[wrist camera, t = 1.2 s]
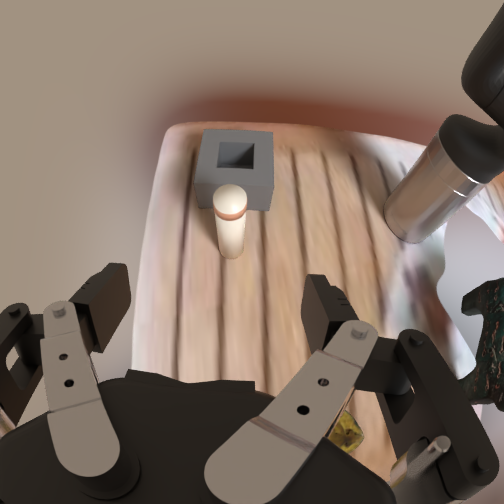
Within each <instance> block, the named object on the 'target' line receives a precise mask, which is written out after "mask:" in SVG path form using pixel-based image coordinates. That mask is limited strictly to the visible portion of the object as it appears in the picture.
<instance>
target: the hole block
mask: <svg viewBox="0 0 504 504" xmlns="http://www.w3.org/2000/svg"><path fill="white" fill-rule="evenodd" d="M227 184H234V185H237V186H239V187H241V188H242V189H243V190H244V191H245V193H246V195H247V209H246V210H259V211H269V209H270V204H271V199H272V194H273V189H274V156H273V132H265V131H248V130H222V129H204V132H203V136H202V141H201V146H200V151H199V157H198V162H197V167H196V173H195V178H194V187H195V192H196V197H197V202H198V207H199V208H214V207H213V195H214V193H215V191H216V190H217V189H218V188H219V187H221V186H223V185H227Z"/></svg>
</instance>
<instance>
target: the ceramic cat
mask: <svg viewBox="0 0 504 504" xmlns="http://www.w3.org/2000/svg"><path fill="white" fill-rule="evenodd" d="M461 311H462V313H463V314H465V315H467V316H471V315H477V314H482V315H483V318H484V321H483V329H482V334H481V337H480V341H479V346H478V349H477V354H476V358H475V359H476V367H475V368H474V370H473V371H472V372H470V373H469V374H468V375H467V376H465V377H464V378H462V379H459V380H457V381H458V383H459V385H460V386H461V388H462V390H463V391H464V393H465V395H466V397H467V398H468V400H469V402H470V404H471V405H477V404H491V403H495V405H496V407H497V408H498V410H500V411H503V412H504V278H500V279H497V280H492V281H487V282H485V283H483V284H482V285H480V286H479V287H477V288H475V289H473V290H472V291H471V292H469V293H467V294H466V295H465V296H463V300H462V308H461Z"/></svg>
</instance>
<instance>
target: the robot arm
mask: <svg viewBox="0 0 504 504" xmlns="http://www.w3.org/2000/svg"><path fill="white" fill-rule="evenodd" d="M461 80H462V87H463V89H464V91H465V92H466V94H467V95H468V96H469V97H470V98H471V99H472V100H473V101H474V102H475V103H476V104H477V105H478V106H479V107H480V108H481V109H483V111H485V112H486V113H487V114H488V115H489V116H490V117H491V118H492V119H493V120H494V121H496V123H497V124H498V125H496V126H493V125H487V124H483V123H480V122H478V121H475V120H473V119H471V118H468V117H466V116H463V115H458V114H454V115H451V116H449V117H448V118H447V119H446V120H445V121H444V123H443V124H442V126H441V127H440V129H439V130H438V131H437V133H436V135H435V136H434V137H433V139H432V140H431V142H430V143H429V144H428V146H427V147H426V149H425V150H424V151H423V153H422V154H421V156H420V157H419V158H418V160H417V161H416V162H415V164H414V165H413V166H412V168H411V169H410V170H409V172H408V173H407V174H406V176H405V177H404V178H403V180H402V181H401V182H400V184H399V185H398V186H397V187H396V189H395V190H394V191H393V192H392V194H391V195H390V196H389V198H388V199H387V200H386V202H385V204H384V216H385V219H386V222H387V224H388V226H389V227H390V229H391V230H392V231H393V233H394V234H395V235H396V236H398V237H399V238H400V239H402V240H403V241H405V242H408V243H413V244H415V243H420V242H422V241H423V240H425V239H426V238H427V237H428V236H429V235H431V234H432V233H433V232H434V231H436V230H437V229H438V228H439V227H440V226H442V225H443V224H444V223H445V222H446V221H448V220H449V219H450V218H451V217H452V216H453V215H454V214H455V213H457V212H458V211H459V210H460V209H461V208H462V207H464V206H465V205H466V204H467V203H468V202H469V201H470V200H471V199H472V198H473V197H474V196H476V194H478V193H479V192H480V191H481V190H482V189H483V188H484V187H485V186H486V185H487V184H488V183H489V182H490V181H491V180H492V179H493V178H494V177H495V176H497V175H499V174H500V173H502V172H503V171H504V3H503V5H502V7H501V8H500V10H499V12H498V13H497V15H496V16H495V18H494V19H493V21H492V22H491V24H490V25H489V27H488V28H487V30H486V31H485V32H484V34H483V35H482V37H481V38H480V40H479V41H478V43H477V44H476V46H475V47H474V49H473V50H472V52H471V53H470V55H469V57H468V59H467V61H466V63H465V66H464V68H463V72H462V77H461ZM130 303H131V291H130V285H129V278H128V270H127V266H126V265H125V264H121V263H109V264H108V265H107V266H106V267H105V268H104V269H103V270H102V271H101V272H99V273H97V274H95V275H93V276H92V277H90V278H89V279H88V280H87V281H86V282H85V284H83V285H82V287H81V289H79V290H78V291H77V292H76V293H75V294H74V295H73V296H72V297H71V298H70V300H69V301H58V302H55V303H52V304H51V305H49V306H48V307H46V309H45V310H44V313H43V314H34V315H33V314H32V315H31V314H30V311H29V308H28V306H27V305H26V304H24V303H16V304H13V305H10V306H8V307H7V308H6V309H5V310H3V312H2V313H1V314H0V504H461V503H463V502H464V501H466V500H467V499H469V498H470V497H472V496H473V495H475V494H476V493H478V492H479V491H480V490H482V489H483V488H485V487H486V486H487V485H489V484H490V483H491V482H492V481H493V480H494V479H495V478H496V476H497V474H498V471H499V460H498V457H497V454H496V452H495V450H494V448H493V446H492V444H491V442H490V440H489V438H488V436H487V434H486V432H485V430H484V428H483V426H482V424H481V422H480V420H479V418H478V416H477V414H476V413H475V411H474V409H473V407H472V405H471V404H470V402H469V400H468V398H467V397H466V395H465V393H464V391H463V390H462V388H461V386H460V385H459V383H458V381H457V380H456V378H455V377H454V375H453V373H452V372H451V370H450V369H449V367H448V365H447V364H446V362H445V361H444V359H443V358H442V356H441V355H440V353H439V351H438V350H437V348H436V347H435V345H434V344H433V342H432V341H431V340H430V338H429V337H428V336H427V335H425V334H424V333H422V332H420V331H418V330H413V329H406V330H403V331H402V332H400V334H399V336H398V339H397V340H395V339H389V338H383V337H379V336H378V332H377V330H376V329H375V328H374V327H373V326H372V325H370V324H369V323H366V322H364V321H360V320H359V318H358V317H357V315H356V313H355V311H354V310H353V308H352V306H351V305H350V303H349V301H348V300H347V297H346V296H345V294H344V292H343V291H341V290H340V289H339V288H337V287H336V286H330V284H329V282H328V280H327V278H326V276H325V275H318V274H308V275H307V276H306V280H305V286H304V292H303V298H302V304H301V319H302V322H303V326H304V329H305V333H306V336H307V340H308V343H309V347H310V350H311V354H312V356H311V357H310V358H309V360H308V361H307V362H306V363H305V364H304V366H303V367H302V368H301V369H300V370H299V372H298V373H297V374H296V375H295V376H294V377H293V379H292V380H291V381H290V382H289V383H288V384H287V386H286V387H285V388H284V389H283V390H282V391H281V392H280V393H279V395H278V396H277V397H274V396H272V395H269V394H266V393H263V392H260V391H256V390H255V381H235V380H217V381H208V382H199V383H184V382H181V381H178V380H175V379H172V378H169V377H166V376H163V375H160V374H157V373H150V372H144V371H137V370H131V369H128V371H127V373H126V376H125V378H115V379H110V380H106V381H103V382H101V383H100V382H99V379H98V376H97V374H96V371H95V368H94V365H93V362H92V359H91V356H90V354H91V352H92V351H93V352H98V353H103V352H104V350H105V348H106V346H107V344H108V343H109V341H110V339H111V338H112V336H113V334H114V332H115V331H116V329H117V327H118V326H119V324H120V322H121V320H122V319H123V317H124V315H125V314H126V312H127V310H128V309H129V307H130ZM13 346H14V347H15V349H16V351H17V353H18V355H19V358H18V359H17V360H16V362H15V364H14V365H13V366H12V368H11V369H10V371H9V370H8V369H7V366H6V357H7V354H8V353H9V352H10V350H11V349H12V348H13ZM43 375H44V382H45V389H46V394H47V400H48V406H49V411H47V412H46V413H44V414H42V415H40V416H38V417H36V418H34V419H32V420H31V421H29V422H27V423H25V424H23V425H21V426H19V427H17V428H16V426H17V424H18V422H19V420H20V418H21V416H22V414H23V412H24V410H25V408H26V406H27V404H28V402H29V400H30V398H31V396H32V394H33V393H34V391H35V389H36V387H37V385H38V383H39V382H40V380H41V378H42V376H43ZM411 385H412V387H413V389H414V392H413V390H412V388H411ZM355 390H362V391H369V392H375V394H376V396H377V399H378V402H379V405H380V408H381V411H382V414H383V417H384V420H385V423H386V426H387V429H388V432H389V435H390V438H391V441H392V445H393V448H394V451H395V455H396V458H397V462H396V463H395V464H394V465H393V466H392V469H391V472H390V480H391V482H390V486H389V485H388V484H387V483H386V482H385V481H384V480H383V479H382V478H381V477H379V476H378V475H377V474H375V473H374V472H372V471H371V470H369V469H368V468H367V467H365V466H364V465H362V464H361V463H360V462H358V461H357V460H356V459H354V458H353V457H352V456H350V455H349V454H348V453H346V452H345V451H344V450H342V449H341V448H340V447H338V446H337V445H336V444H335V443H333V442H332V441H331V440H329V439H328V438H329V437H330V435H331V433H332V431H333V430H334V428H335V426H336V424H337V423H338V421H339V419H340V418H341V416H342V414H343V412H344V411H345V409H346V407H347V405H348V403H349V402H350V400H351V398H352V396H353V394H354V392H355ZM414 393H415V395H414Z"/></svg>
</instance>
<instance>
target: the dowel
mask: <svg viewBox="0 0 504 504" xmlns="http://www.w3.org/2000/svg"><path fill="white" fill-rule="evenodd" d="M213 207H214V212H215V220H216V228H217V235H218V243H219V250H220V253H221V255H222V256H223V257H225V258H227V259H236V258H238V257H239V256H240V255H241V254H242V252H243V248H244V233H245V218H246V209H247V195H246V193H245V191H244V190H243V189H242V188H241V187H239V186H237V185H234V184H227V185H223V186H221V187H219V188H218V189H217V190H216V191H215V193H214V195H213Z"/></svg>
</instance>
